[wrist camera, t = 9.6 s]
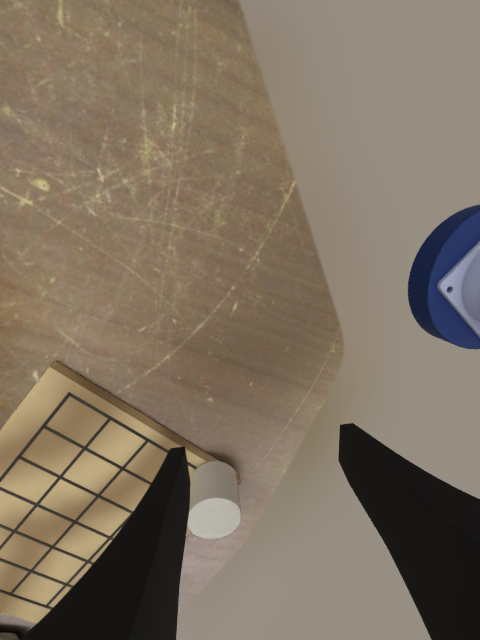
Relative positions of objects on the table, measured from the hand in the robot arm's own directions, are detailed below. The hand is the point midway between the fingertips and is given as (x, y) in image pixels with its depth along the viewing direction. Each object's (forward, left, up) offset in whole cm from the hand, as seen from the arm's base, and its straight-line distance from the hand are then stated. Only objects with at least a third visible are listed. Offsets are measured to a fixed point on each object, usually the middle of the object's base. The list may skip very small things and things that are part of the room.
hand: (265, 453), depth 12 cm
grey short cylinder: (-5, +9, -8) cm, 13 cm away
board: (+2, +20, -9) cm, 22 cm away
